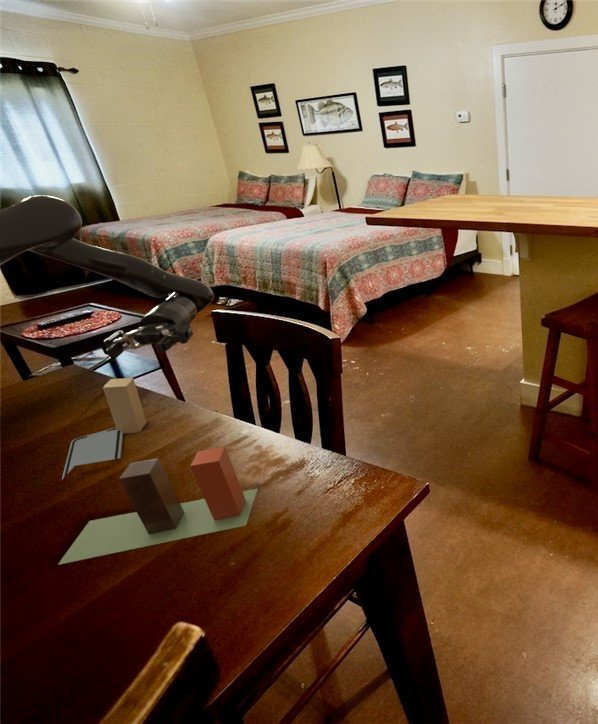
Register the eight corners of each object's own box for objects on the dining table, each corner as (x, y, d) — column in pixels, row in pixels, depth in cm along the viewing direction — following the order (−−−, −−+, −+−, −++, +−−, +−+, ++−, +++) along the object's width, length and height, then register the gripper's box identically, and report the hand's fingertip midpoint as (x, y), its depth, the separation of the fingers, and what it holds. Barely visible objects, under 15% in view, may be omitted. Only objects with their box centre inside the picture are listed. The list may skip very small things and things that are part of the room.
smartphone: (59, 486, 75) (71, 439, 86) (62, 490, 76) (73, 443, 86) (118, 468, 79) (122, 425, 90) (120, 472, 80) (124, 429, 90)
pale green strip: (60, 570, 62) (57, 564, 61) (92, 525, 69) (89, 520, 68) (247, 530, 68) (245, 525, 67) (259, 493, 75) (258, 488, 74)
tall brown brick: (148, 534, 66) (118, 478, 61) (157, 517, 69) (130, 462, 64) (176, 528, 67) (149, 473, 62) (184, 512, 70) (159, 458, 65)
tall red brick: (213, 520, 68) (189, 465, 64) (220, 504, 71) (198, 451, 66) (240, 515, 69) (218, 460, 64) (245, 499, 72) (225, 446, 67)
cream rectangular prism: (118, 434, 89) (102, 387, 84) (125, 424, 91) (110, 379, 87) (140, 432, 90) (126, 386, 86) (146, 423, 93) (133, 377, 89)
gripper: (123, 310, 105) (85, 339, 92) (196, 303, 109) (170, 329, 95) (136, 341, 109) (102, 373, 95) (207, 333, 113) (183, 362, 99)
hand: (136, 351), depth 95 cm, fingers open, 8 cm apart
